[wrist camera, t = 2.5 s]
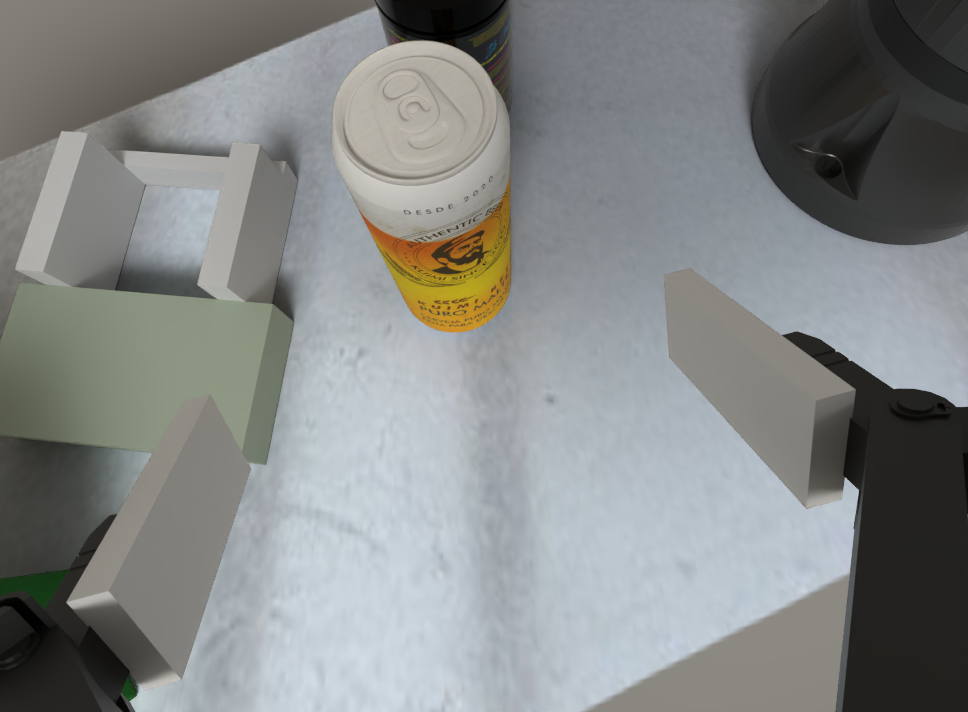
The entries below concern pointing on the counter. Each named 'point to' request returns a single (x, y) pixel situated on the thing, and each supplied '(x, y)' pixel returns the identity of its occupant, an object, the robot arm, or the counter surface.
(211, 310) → the green panel with frame
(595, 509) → the counter surface
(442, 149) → the beer can
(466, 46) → the supplement container
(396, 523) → the counter surface
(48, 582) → the milk carton
